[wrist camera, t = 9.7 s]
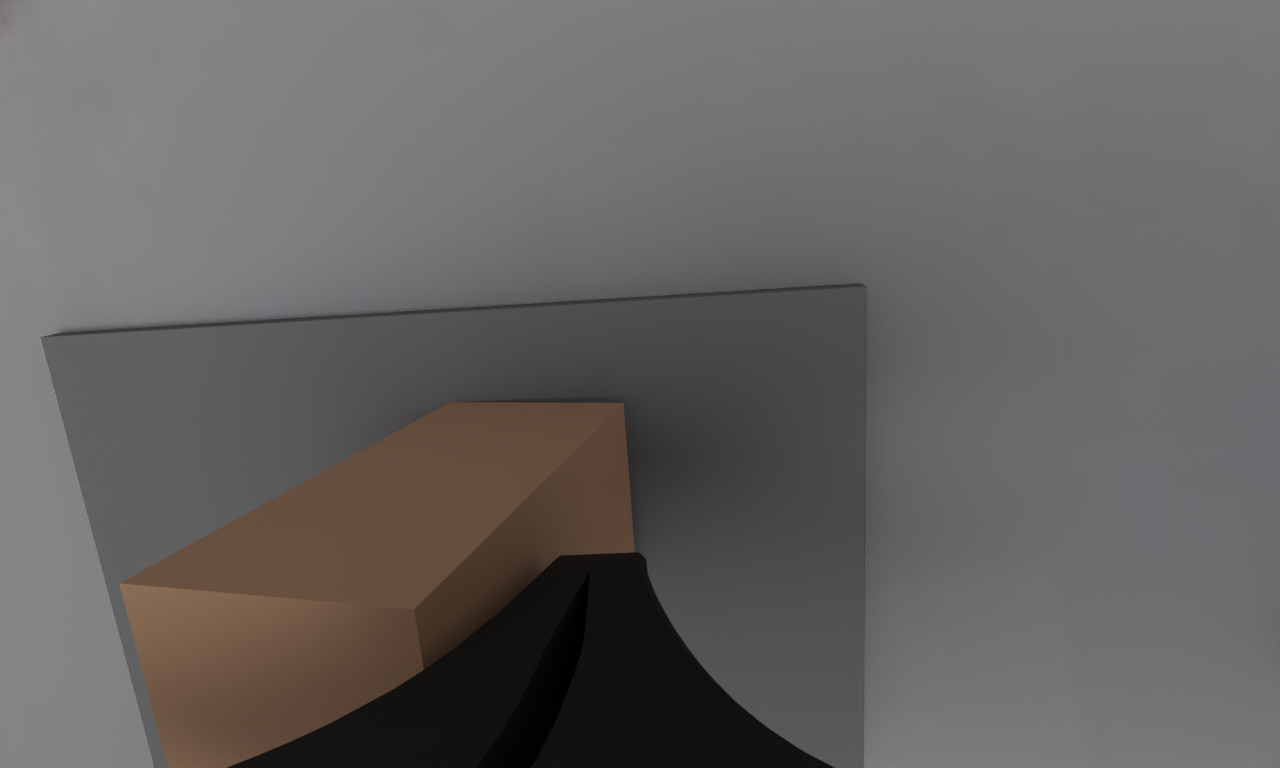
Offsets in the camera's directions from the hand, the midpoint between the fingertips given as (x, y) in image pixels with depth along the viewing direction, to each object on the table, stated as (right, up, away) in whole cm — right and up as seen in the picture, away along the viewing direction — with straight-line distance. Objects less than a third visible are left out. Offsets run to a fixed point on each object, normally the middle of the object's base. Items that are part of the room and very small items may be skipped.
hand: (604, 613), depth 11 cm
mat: (-3, -1, +7) cm, 7 cm away
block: (-2, +1, +5) cm, 5 cm away
